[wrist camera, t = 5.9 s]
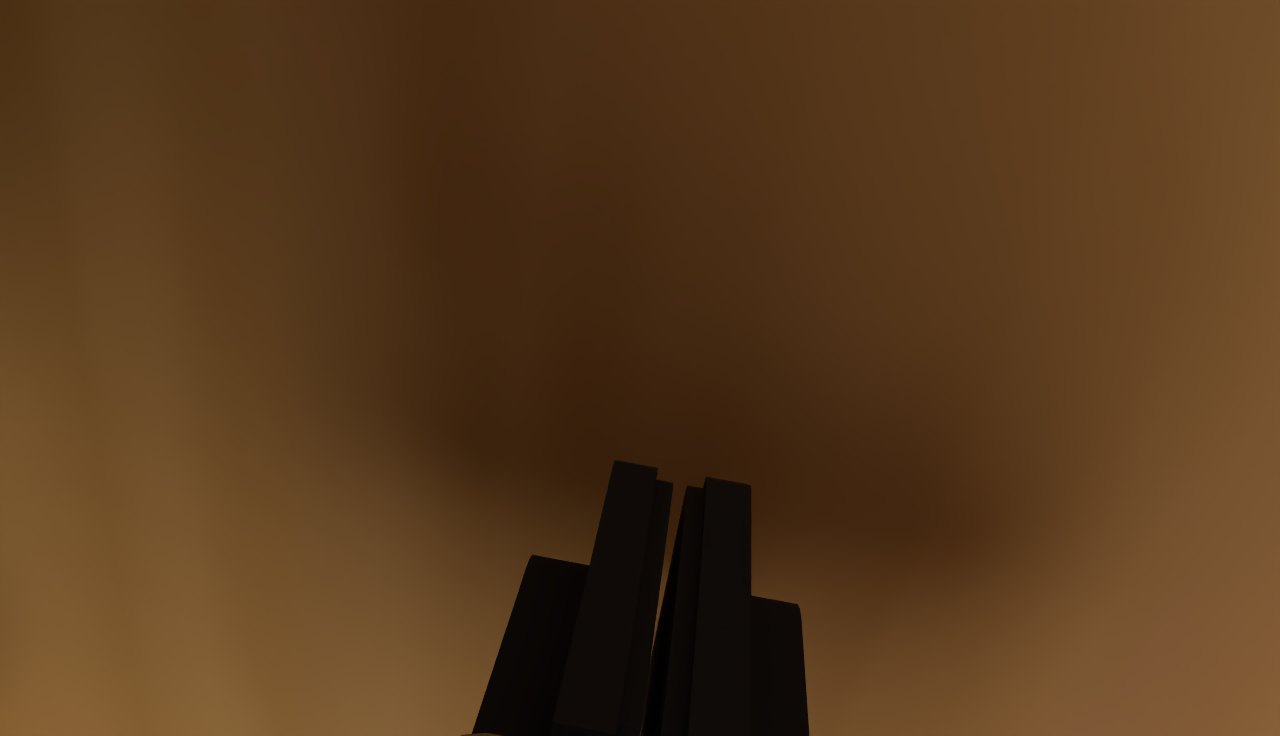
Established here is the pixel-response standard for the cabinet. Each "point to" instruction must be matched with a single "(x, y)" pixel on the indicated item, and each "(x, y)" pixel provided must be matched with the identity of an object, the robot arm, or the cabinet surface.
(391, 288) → the cabinet surface
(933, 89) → the cabinet surface
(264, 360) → the cabinet surface
